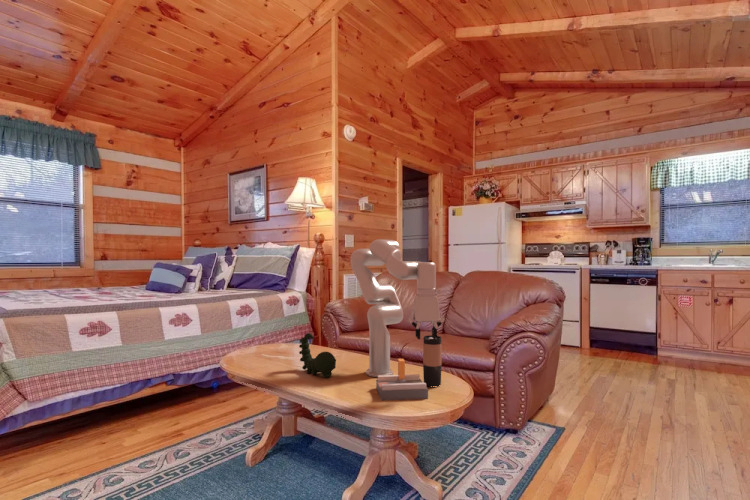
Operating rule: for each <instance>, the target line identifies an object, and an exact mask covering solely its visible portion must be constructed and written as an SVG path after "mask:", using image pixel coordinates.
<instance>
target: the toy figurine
mask: <svg viewBox="0 0 750 500" xmlns="http://www.w3.org/2000/svg"><path fill="white" fill-rule="evenodd" d="M309 339H311V340H314V335H313V334H312V333H309V332H307V333H306V334H305V335H304V336H303V337H302V338H300V339H299V343H300V344H299V348H300V349H301V351H298V353H299V355H301V357H300V359H299V362H303V366H302V370H303V371H304V370H305V371H306V374H309V375H310V374H312V375H313V376H316V375H317V373H321V374H322V376H323V378H324V379H327V378H330V377H331V376H332V374H333V372H332V371H334V370H335V369H336V367H337V365H336V364H337V359H336V357H335V356H334V354H332V353H331V352H329V351H321V352H320V353H318V354H317V355H316V356H315V357H313V356H312V354H311V349H310V343H309Z"/></svg>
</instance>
